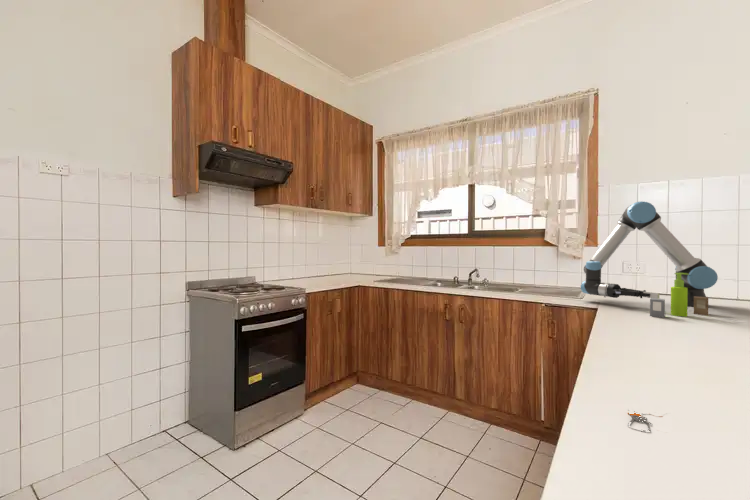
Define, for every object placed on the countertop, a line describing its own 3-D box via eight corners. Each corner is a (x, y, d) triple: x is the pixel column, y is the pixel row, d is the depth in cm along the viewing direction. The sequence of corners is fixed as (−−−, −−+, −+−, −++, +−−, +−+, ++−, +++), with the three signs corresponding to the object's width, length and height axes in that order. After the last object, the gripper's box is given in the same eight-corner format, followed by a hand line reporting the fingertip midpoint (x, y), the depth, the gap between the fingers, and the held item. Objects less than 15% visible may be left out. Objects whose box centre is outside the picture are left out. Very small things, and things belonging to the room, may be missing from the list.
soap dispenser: (693, 316, 160) (693, 273, 160) (677, 316, 160) (678, 273, 160) (682, 314, 166) (682, 272, 166) (667, 314, 166) (667, 272, 166)
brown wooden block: (693, 312, 170) (693, 296, 170) (707, 313, 166) (707, 297, 166) (693, 314, 166) (693, 297, 166) (708, 315, 162) (708, 298, 162)
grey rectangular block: (650, 314, 164) (650, 298, 164) (664, 316, 161) (664, 299, 161) (650, 316, 161) (650, 299, 161) (664, 317, 157) (664, 300, 157)
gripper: (617, 296, 195) (666, 302, 173) (602, 297, 190) (650, 304, 168) (617, 283, 195) (666, 287, 173) (602, 283, 190) (650, 289, 168)
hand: (658, 296), depth 171 cm, fingers closed
